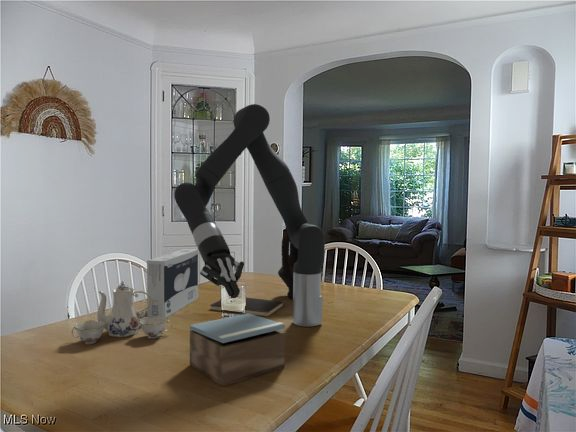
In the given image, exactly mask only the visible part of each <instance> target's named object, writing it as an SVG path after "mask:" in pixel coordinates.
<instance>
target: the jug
mask: <svg viewBox="0 0 576 432" xmlns="http://www.w3.org/2000/svg"><path fill="white" fill-rule="evenodd" d="M298 251H299V249H297V248H296V247H295V246H294V245H293V244H292V242H291V239H290V237H289V234H288V231H287V228H286V227H285V230H284V232H283V236H282V239H281V267H280V269H279V270H278V272H277V275H278V276H279V278H280V279H281V280H282V282H283V283H284V284H285V285H286V287H287V288H288V292H287V297H288V298H291V299H293V274H294V264H295V263H296V262H297V260H298ZM322 277H323V272H322V270H321V278H322Z"/></svg>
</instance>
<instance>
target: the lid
mask: <svg viewBox="0 0 576 432" xmlns="http://www.w3.org/2000/svg"><path fill="white" fill-rule="evenodd" d="M285 327H286V324H285V323H283V322H280V321H274V320H272V319H268V318H265V317H262V316H260V315H253V314H249V313H248V314H245V313H242V314H238V315H234V316H229V317H224V318H218V319H214V320H213V319H212V320H209V321H204V322H198V323H193V324H189V330H193V331H195V332H198V333H200V334H202V335H205V336H207V337H209V338H212V339H214V340H216V341H219V342H221V343H226V342H230V341H234V340H238V339H242V338H247V337H251V336H255V335H259V334H263V333H267V332H272V331H276V330H279V331H281V330H283V329H285Z"/></svg>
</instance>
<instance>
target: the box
mask: <svg viewBox="0 0 576 432" xmlns="http://www.w3.org/2000/svg"><path fill="white" fill-rule="evenodd" d="M285 333H286V332H284V331H282V330H276V331H272V332H267V333H263V334H259V335H255V336H251V337H247V338H242V339H238V340H234V341H230V342H226V343H221V342H219V341H216V340H214V339H212V338H209V337H207V336H205V335H202V334H200V333H198V332H195V331H193V330H191V329H189V365H190V367H192V368H193V369H195V370H197V371H198V372H200V373H202V374H203V375H205V376H206V377H207V378H209V379H210V380H211V381H212V382H215V383H216V384H217V385H219V386H220V387H227V386H230V385H233V384H235V383H236V384H237V383H239V382H240V383H241V382H242V381H243V382H244V381H247V380H249V379H253V378H256V377H259V376H262V375H265V374H268V373H272V372H275V371H278V370H282V369H284V368H285V345H286V344H285V341H286V340H285V339H286V334H285Z"/></svg>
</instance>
